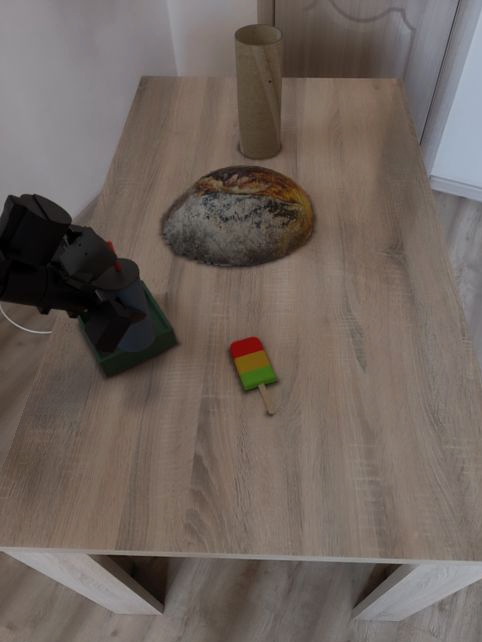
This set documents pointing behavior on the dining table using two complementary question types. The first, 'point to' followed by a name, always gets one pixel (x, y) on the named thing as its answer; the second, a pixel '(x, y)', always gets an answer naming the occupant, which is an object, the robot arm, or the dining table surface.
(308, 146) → the dining table surface
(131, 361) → the bin
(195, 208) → the bread
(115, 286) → the cup with straw
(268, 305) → the dining table surface
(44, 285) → the robot arm
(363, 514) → the dining table surface
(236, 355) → the popsicle
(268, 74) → the tube
